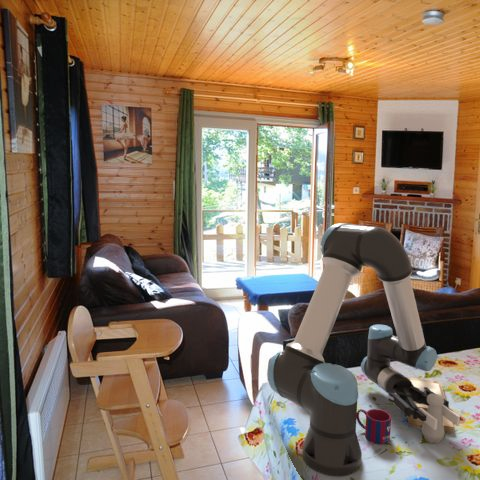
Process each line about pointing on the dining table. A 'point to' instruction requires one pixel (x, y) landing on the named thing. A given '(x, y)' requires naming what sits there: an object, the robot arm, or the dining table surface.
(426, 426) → the salt shaker
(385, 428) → the mug
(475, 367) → the dining table surface
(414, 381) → the wooden slotted tray
